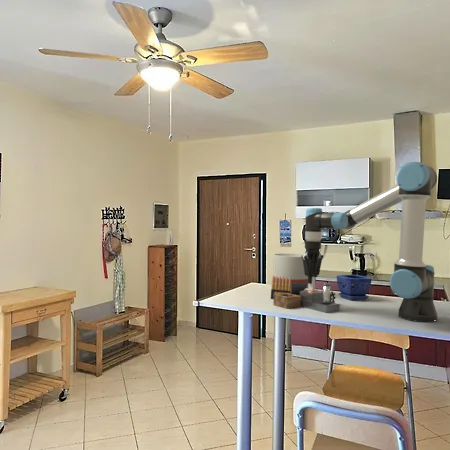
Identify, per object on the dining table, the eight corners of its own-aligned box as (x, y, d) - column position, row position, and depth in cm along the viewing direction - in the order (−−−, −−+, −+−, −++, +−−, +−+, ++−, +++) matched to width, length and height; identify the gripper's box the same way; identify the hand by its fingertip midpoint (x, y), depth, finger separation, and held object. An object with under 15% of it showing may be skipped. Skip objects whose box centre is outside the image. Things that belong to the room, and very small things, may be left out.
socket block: (339, 310, 184) (340, 295, 183) (326, 312, 178) (326, 297, 178) (309, 303, 198) (310, 289, 198) (296, 305, 193) (297, 290, 193)
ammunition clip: (291, 300, 205) (292, 276, 205) (290, 301, 203) (291, 277, 203) (271, 298, 209) (272, 275, 209) (270, 299, 208) (271, 275, 207)
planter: (308, 297, 213) (309, 257, 213) (269, 295, 219) (270, 255, 218) (311, 291, 232) (312, 254, 232) (275, 289, 238) (276, 252, 238)
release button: (316, 298, 191) (317, 291, 191) (311, 299, 189) (311, 291, 189) (311, 297, 194) (311, 290, 194) (305, 298, 192) (306, 290, 192)
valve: (307, 302, 201) (329, 306, 193) (307, 289, 201) (330, 292, 193) (312, 300, 206) (335, 304, 199) (313, 287, 206) (335, 290, 198)
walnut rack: (300, 306, 190) (300, 296, 190) (286, 308, 185) (287, 297, 185) (287, 303, 198) (287, 292, 198) (273, 305, 192) (273, 294, 192)
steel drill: (331, 310, 184) (332, 284, 184) (326, 311, 182) (327, 284, 182) (325, 309, 187) (326, 283, 186) (320, 309, 185) (321, 283, 184)
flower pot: (355, 295, 223) (356, 274, 223) (371, 300, 210) (372, 277, 210) (335, 296, 219) (335, 274, 219) (350, 301, 206) (350, 278, 206)
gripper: (316, 240, 198) (314, 288, 198) (297, 240, 190) (295, 290, 191) (328, 241, 192) (326, 290, 192) (309, 241, 184) (307, 292, 185)
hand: (311, 290), depth 191 cm, fingers closed
